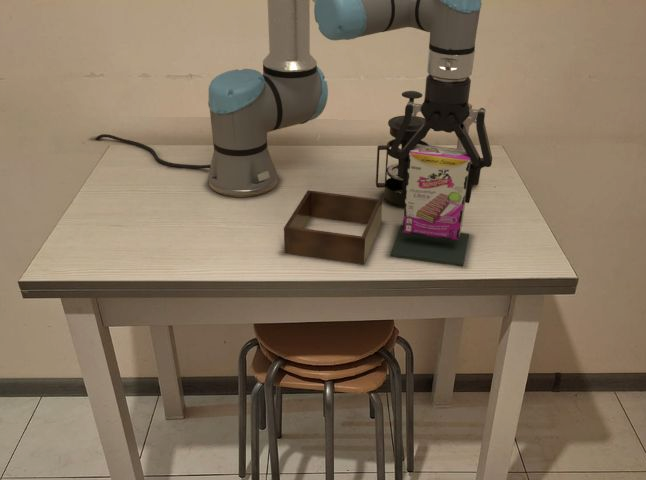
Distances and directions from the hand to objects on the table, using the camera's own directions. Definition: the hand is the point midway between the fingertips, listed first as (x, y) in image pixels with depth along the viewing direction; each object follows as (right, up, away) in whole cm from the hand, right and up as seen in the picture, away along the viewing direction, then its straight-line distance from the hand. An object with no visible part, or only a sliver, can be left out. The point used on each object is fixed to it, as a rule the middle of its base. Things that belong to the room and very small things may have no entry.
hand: (436, 196), depth 130 cm
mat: (0, -8, +7) cm, 11 cm away
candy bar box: (0, -6, +5) cm, 8 cm away
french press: (-5, +4, +23) cm, 24 cm away
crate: (-19, -7, +8) cm, 22 cm away
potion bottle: (+8, +9, +30) cm, 32 cm away
